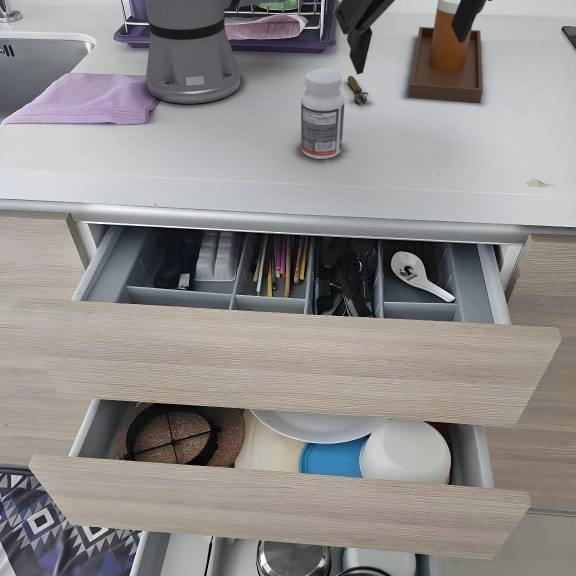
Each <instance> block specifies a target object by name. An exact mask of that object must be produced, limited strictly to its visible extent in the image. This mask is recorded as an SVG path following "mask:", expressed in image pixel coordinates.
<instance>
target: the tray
mask: <svg viewBox="0 0 576 576" xmlns="http://www.w3.org/2000/svg"><path fill="white" fill-rule="evenodd" d="M433 30H434V27H430V26H429V27H427V26H419V27H418V32H417V39H416V44H415V45H416V46H415V50H414V51H415V52H414V57H413V63H412V69H411V76H410V82H409V89H408V96H407V97H408V98H414V99H424V100H425V99H428V100H440V101H452V102H463V103H464V102H466V103H478V104H479V103H481V101H482V100H481V99H482V95H483V91H484V83H483V82H484V81H483V62H482V37H481V34H482V33H481V30H480V29H476V30H475V29H472V30H471V34H470V39H469V44H468V49H467V54H466V59H465V64H464V67H463V68H462V69H460V70H456V71H441V70H437V69H434V68H432V67H431V66H430V65H429V59H430V53H431V47H432V46H431V42H432V36H433Z"/></svg>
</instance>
